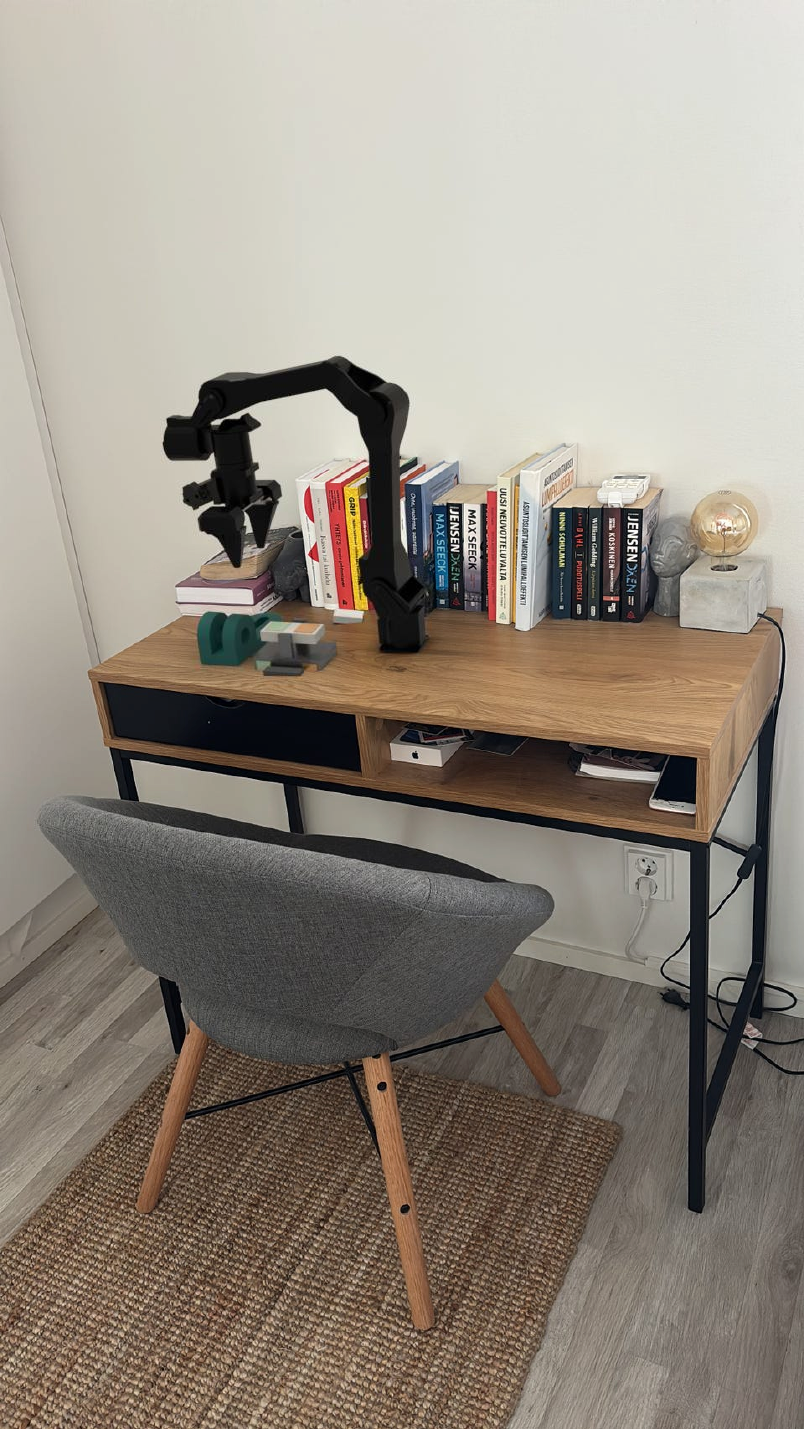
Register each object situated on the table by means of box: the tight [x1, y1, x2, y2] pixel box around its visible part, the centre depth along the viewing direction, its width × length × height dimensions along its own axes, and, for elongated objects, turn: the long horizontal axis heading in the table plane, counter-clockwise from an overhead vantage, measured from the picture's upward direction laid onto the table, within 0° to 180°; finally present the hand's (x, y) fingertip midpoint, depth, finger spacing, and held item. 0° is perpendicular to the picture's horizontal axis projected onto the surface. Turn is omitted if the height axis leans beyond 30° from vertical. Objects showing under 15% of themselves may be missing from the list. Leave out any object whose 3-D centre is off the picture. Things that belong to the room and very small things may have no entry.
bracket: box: [196, 610, 283, 667], centre depth 188 cm, size 18×7×8 cm, turn 158°
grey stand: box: [252, 617, 338, 672], centre depth 178 cm, size 11×7×7 cm, turn 72°
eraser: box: [332, 608, 365, 625], centre depth 195 cm, size 1×5×4 cm
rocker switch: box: [260, 621, 326, 644], centre depth 177 cm, size 9×5×2 cm, turn 72°
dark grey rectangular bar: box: [262, 666, 305, 677], centre depth 175 cm, size 6×2×2 cm, turn 73°
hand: (249, 557), depth 183 cm, fingers open, 9 cm apart
